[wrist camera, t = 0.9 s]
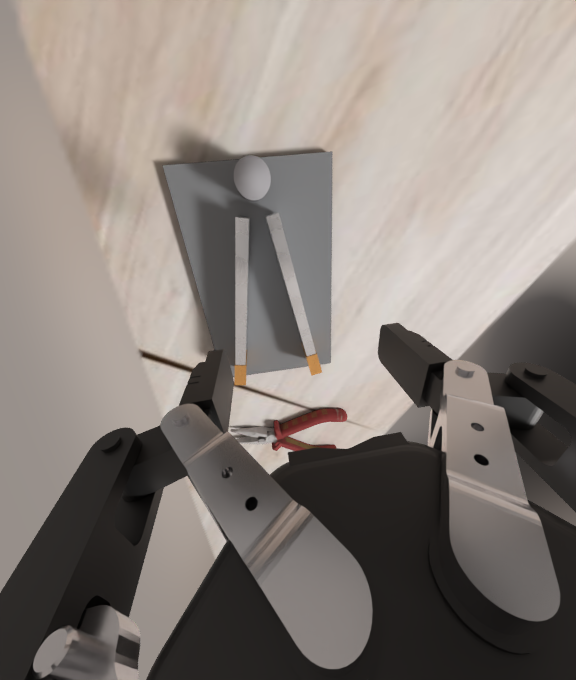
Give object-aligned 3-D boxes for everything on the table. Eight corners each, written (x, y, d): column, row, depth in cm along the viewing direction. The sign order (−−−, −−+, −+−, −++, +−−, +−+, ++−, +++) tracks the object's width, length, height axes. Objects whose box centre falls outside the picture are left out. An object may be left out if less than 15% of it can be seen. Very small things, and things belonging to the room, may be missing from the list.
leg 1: (237, 216, 24) (234, 217, 21) (250, 217, 24) (250, 218, 21) (236, 367, 33) (234, 385, 30) (246, 367, 33) (245, 385, 30)
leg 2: (263, 216, 24) (265, 217, 21) (276, 212, 24) (279, 212, 21) (306, 359, 34) (311, 375, 30) (315, 356, 34) (321, 372, 30)
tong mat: (166, 167, 22) (141, 155, 18) (329, 153, 23) (348, 139, 19) (223, 374, 35) (218, 400, 30) (328, 359, 36) (340, 382, 31)
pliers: (230, 406, 38) (229, 419, 36) (345, 405, 42) (351, 416, 40) (231, 451, 44) (230, 464, 42) (333, 446, 47) (336, 458, 45)
